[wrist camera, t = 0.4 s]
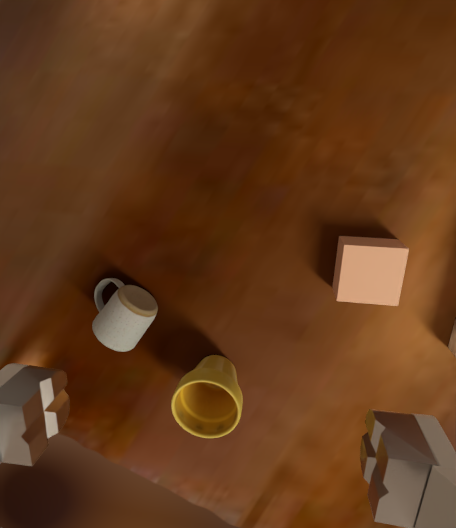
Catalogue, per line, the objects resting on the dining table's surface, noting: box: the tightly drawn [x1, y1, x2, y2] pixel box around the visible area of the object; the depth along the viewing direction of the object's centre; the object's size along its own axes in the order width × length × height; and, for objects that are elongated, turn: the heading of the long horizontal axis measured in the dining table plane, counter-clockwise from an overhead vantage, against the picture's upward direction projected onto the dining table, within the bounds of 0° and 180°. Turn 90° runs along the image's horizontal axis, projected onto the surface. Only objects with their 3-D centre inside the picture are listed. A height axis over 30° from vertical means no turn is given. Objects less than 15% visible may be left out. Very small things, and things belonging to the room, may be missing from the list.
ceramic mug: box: [92, 278, 158, 352], centre depth 57 cm, size 11×8×8 cm
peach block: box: [332, 236, 409, 306], centre depth 51 cm, size 8×8×5 cm
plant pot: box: [171, 355, 243, 438], centre depth 58 cm, size 10×10×10 cm
